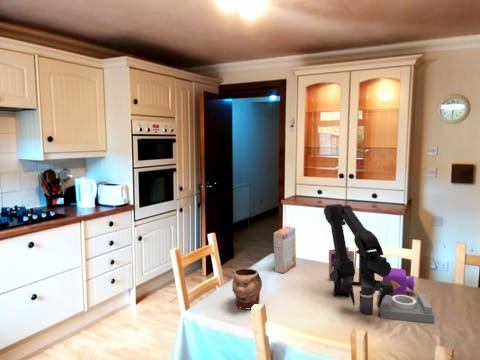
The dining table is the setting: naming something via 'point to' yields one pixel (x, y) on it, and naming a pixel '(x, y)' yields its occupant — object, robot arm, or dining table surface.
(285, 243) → the cracker box
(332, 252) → the purple printed box
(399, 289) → the toy camera
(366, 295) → the lens
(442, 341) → the dining table surface
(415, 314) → the mount
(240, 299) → the decorative planter
